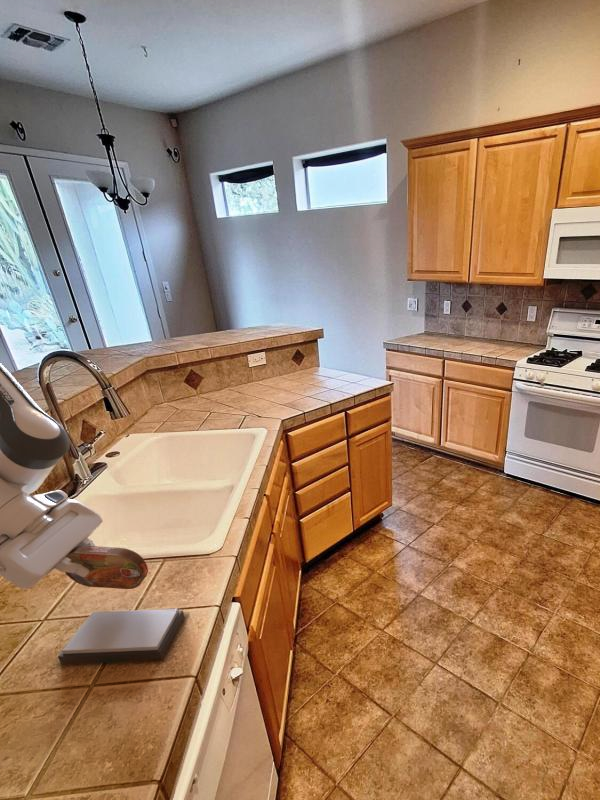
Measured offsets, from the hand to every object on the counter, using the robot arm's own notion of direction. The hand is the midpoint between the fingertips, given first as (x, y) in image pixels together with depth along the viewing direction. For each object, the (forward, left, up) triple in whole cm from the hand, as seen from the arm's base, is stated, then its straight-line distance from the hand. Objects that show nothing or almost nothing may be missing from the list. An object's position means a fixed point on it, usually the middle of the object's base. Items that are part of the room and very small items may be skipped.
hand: (95, 566), depth 81 cm
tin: (+2, 0, -4) cm, 5 cm away
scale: (+9, -11, -9) cm, 16 cm away
